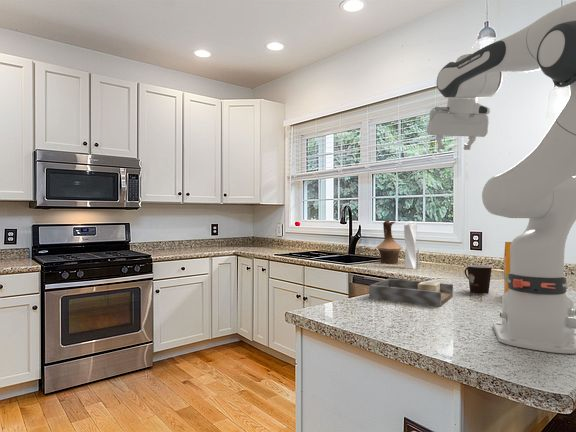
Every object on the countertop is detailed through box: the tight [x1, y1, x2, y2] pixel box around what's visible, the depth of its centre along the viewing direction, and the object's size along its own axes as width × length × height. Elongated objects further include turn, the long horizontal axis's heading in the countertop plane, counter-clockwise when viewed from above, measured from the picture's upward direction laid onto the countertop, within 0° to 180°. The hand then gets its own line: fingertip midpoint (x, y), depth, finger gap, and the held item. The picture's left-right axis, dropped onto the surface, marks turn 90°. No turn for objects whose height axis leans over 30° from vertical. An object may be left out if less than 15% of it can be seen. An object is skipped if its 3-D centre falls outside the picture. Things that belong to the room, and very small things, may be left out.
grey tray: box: [368, 278, 454, 308], centre depth 137 cm, size 24×20×4 cm
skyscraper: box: [403, 220, 421, 270], centre depth 222 cm, size 8×8×28 cm
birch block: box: [418, 281, 441, 292], centre depth 134 cm, size 6×6×4 cm
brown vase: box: [375, 219, 403, 265], centre depth 250 cm, size 18×17×28 cm
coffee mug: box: [464, 264, 493, 295], centre depth 149 cm, size 12×9×10 cm
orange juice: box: [503, 241, 512, 294], centre depth 137 cm, size 8×9×20 cm
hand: (453, 149), depth 131 cm, fingers open, 8 cm apart
